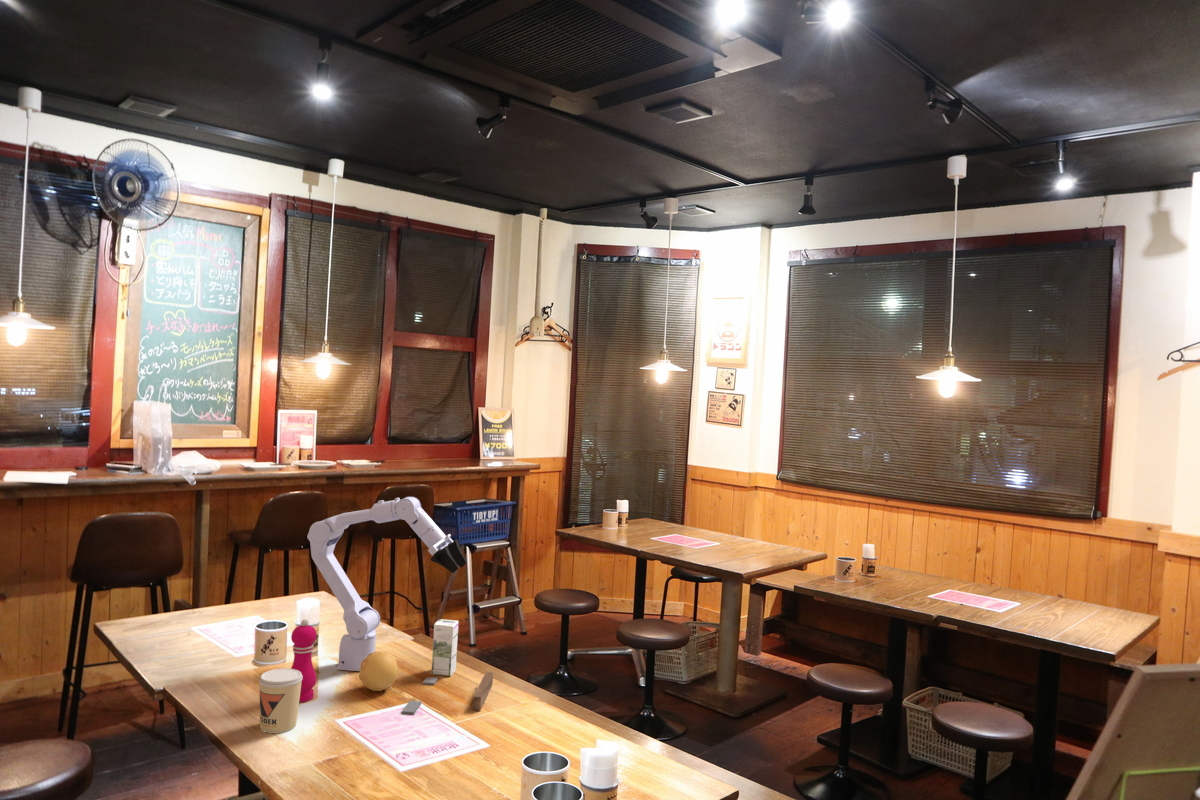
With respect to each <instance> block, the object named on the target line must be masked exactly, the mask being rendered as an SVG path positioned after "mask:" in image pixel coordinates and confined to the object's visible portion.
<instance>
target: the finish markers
mask: <svg viewBox="0 0 1200 800" xmlns="http://www.w3.org/2000/svg"><path fill="white" fill-rule="evenodd" d="M437 682H438V677H434V676H433V677H431V676H429V677H428V676H427V677H425V679H424V680H423V682H422V684H423V685H424V686H425V685H426V686H435V684H436V683H437ZM421 705H422V701H421V700H408V703H407V704H406V705H405V706H404V708H403V709H402V711H401V714H403V715H415V714H416V712H417V710H419V708H420V706H421Z"/></svg>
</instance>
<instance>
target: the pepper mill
mask: <svg viewBox="0 0 1200 800" xmlns="http://www.w3.org/2000/svg"><path fill="white" fill-rule="evenodd" d="M300 624H301V625H299V626H296V628H294V629H293V630H292V632H291V636H290V637H291V638H290V639H291V641H292V643H293V645H292V652H293V654H294V657H293V661H292V662H293V663H292V665H291V668H290V669H295V670H298V671H300V672H301V674H302V676H303V679H302V682H301V691H300V699H299V702H302V703H306V702H305V701H307V702H309V700H310V701H311V700H312V699H314V694H315V691H314V689H313V688H314V687H315V686H316V685H317V674H316V673H317V672H316V671H315V668H314V665H313V661H312V653H313V651H314V649H315V648H314V646H315V645H314V642H315V641H316V639H317V637H318V636H317V634H318V633H317V630H316V629H315V627H314V626H312V625H309V621H308V619H302V620H301V622H300Z"/></svg>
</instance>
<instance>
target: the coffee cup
mask: <svg viewBox="0 0 1200 800" xmlns="http://www.w3.org/2000/svg"><path fill="white" fill-rule="evenodd" d="M302 679H303V676H302V674H301V672H300V671H298V670H295V669H291V668H276V669H271V670H267V671H265V672H263V673H262V674H261V675H260V677H259V680H258V682H259V683H258V684H259V726H260V727H259V728H260V730H261V732H263V731H265V732H268V733H267V734H271V733H276V734H284V733H287V732H290V731H292V730H293V729H295V728H296V725H297V721H298V713H299V706H300V705H299V704H300V703H299V699H300V691H301V682H302ZM294 727H295V728H294ZM265 732H264V733H265ZM283 732H284V733H283Z"/></svg>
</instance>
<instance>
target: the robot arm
mask: <svg viewBox="0 0 1200 800" xmlns="http://www.w3.org/2000/svg"><path fill="white" fill-rule="evenodd" d="M398 520H399V521H400V520H402V521H403V520H404V521H405V522H406V523H407V524H408V525H409V527H410V528H411V529H412V530H413V532H414V533H415V534H416V535H417V536H418V538H420V539H421V541H422V542H423V543H424V544H425V545H426V547H427V548H428V549H427V552H428V553H429V554H430V555H431V556H432V557H430V561H431V562H433V563H436V564H438V565H440V566H441V567H443V568H445V569H446V570H447V571H449V572H450V573H452V574H454V573H456V572H457V571H458V570H459V569H461V568H463V567H464V566H465V565H466V564H467V563H468V562H467V560H466V558H465V556H464V554H463V552H462V549H461V547H460V543H459V540H458V539H455V540H453V539H452V538H451V537H452V535H451V533H449V534H447V535H446V534H445V532H443V530H442V529H441V528H440V527H439V526H438V525H437V524H436V523H435V522H434V520H433V519H432V518H431V517H430V515H428V513H427V512H426V511H425V510H424V509H423V507H422V503H421V502H420V499H418V498H417V497H415V496H406V497H404V498H402V499H400V497H396V498H395V497H394V499H393V500H388V501H385V500H384V499H382V500H378V501H377V502H376V503H374V504H373V505H372V507H371V508H367V509H362V510H356V511H355V510H354V511H350V512H343V513H340V514H336V515H333V516H331V517H328V518H325V519H323V520H320V521H316V522H314V523H312V525H310V527H309V531H308V533H307V539H308V541H309V543H310V554H311V559H312V560H313V562H314V564H315V566H316V567H317V569H318V571H319V572H320V573H321V576H322V577H323V579H324V580H325V582H326V583H327V585H328V587H329V588H330V589H331V592H332V594H333V595H334V596H335V598H336V599H337V601H338V603H339V604H340V606H341V608H342V610H343V616H342V619H343V621H344V623H345V627H346V628H345V629H346V632H347V633H346V634H344V635H343V636H342V637H341V638H340V639H341V640H340V642H339V649H338V650H339V651H338V664H337V665H338V667H337V668H336V669H337V670H339V671H340V670H341V671H353V672H359V671H360V666H361V663H362V661H363V660H364V659H365V658H366V657H367V656H368V655H369V654H370V653H374V652H376V638H377V637H376V636H377V631H376V629H377V628H378V626H379V625H380V623H381V616H380V613H379V612H378V611H377V610H376V609H375V608H373V607H372V606H371V605H370V604H369V602H367V600H366V601H365V600H363V599H362V598H361V596H360V595H359V593H358V592H357V590H356V588H355V587H354V585H353V583H352V582H351V581H350V580H351V579H349V577H348V575H347V574H346V572H345V571H344V569H343V567H342V566H341V564H340V562H339V561H338V559H337V558H336V556H335V554H334V551H335V547H336V544H337V543H338V541H339V540H340V538H341V537H342V536H343V534H344V530H346V529H348V528H349V526H350V525H355V524H358V523H359V524H360V523H363V522H369V521H373V522H375V523H377V524H382V523H383V524H384V523H388V522H392V521H398Z"/></svg>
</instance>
